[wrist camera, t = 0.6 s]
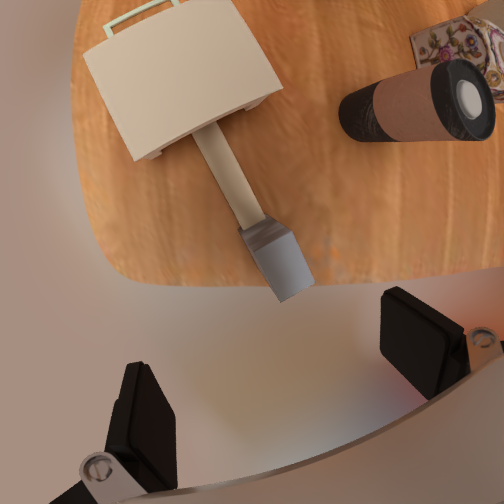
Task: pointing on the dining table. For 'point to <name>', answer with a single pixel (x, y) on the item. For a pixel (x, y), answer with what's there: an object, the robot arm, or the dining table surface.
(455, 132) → the travel mug
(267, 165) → the dining table surface
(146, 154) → the white open box
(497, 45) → the decorative jar
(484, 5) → the canister
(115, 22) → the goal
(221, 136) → the grey block on stick
